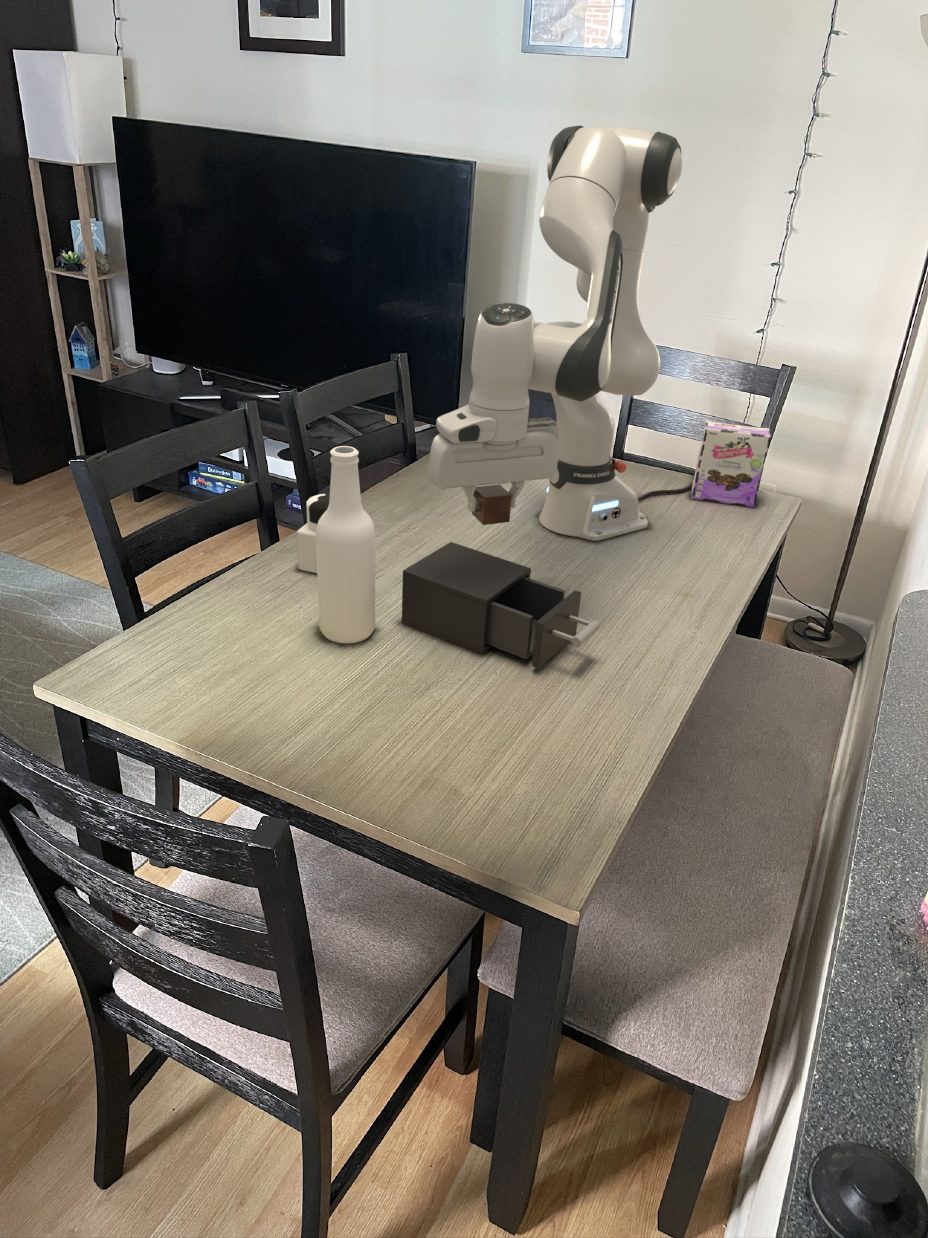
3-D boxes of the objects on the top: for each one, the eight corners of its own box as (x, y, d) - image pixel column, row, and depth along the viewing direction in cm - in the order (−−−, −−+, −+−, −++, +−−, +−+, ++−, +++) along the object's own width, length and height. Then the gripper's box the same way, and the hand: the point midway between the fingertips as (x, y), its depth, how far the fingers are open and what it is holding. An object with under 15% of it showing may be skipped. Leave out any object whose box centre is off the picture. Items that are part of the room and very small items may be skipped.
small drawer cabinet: (526, 619, 148) (531, 568, 143) (482, 654, 138) (486, 600, 133) (448, 591, 155) (450, 541, 150) (401, 622, 145) (402, 570, 140)
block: (497, 510, 141) (499, 484, 139) (509, 522, 138) (511, 494, 136) (471, 513, 140) (473, 486, 138) (482, 525, 136) (484, 497, 134)
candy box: (690, 499, 197) (704, 427, 189) (691, 489, 202) (704, 419, 194) (754, 508, 195) (771, 435, 187) (753, 498, 200) (770, 427, 192)
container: (355, 560, 163) (355, 494, 157) (337, 578, 157) (335, 510, 150) (317, 552, 165) (315, 487, 159) (297, 570, 159) (294, 502, 152)
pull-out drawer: (604, 645, 140) (611, 601, 136) (568, 680, 131) (574, 635, 127) (498, 607, 149) (502, 565, 145) (457, 637, 140) (460, 594, 136)
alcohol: (385, 636, 141) (386, 455, 126) (334, 650, 137) (329, 464, 121) (359, 612, 147) (358, 436, 132) (310, 624, 143) (303, 444, 128)
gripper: (550, 410, 137) (541, 494, 144) (426, 419, 130) (423, 507, 137) (570, 423, 132) (559, 509, 139) (441, 432, 125) (437, 523, 132)
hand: (491, 508), depth 138 cm, fingers closed on block, 4 cm apart
